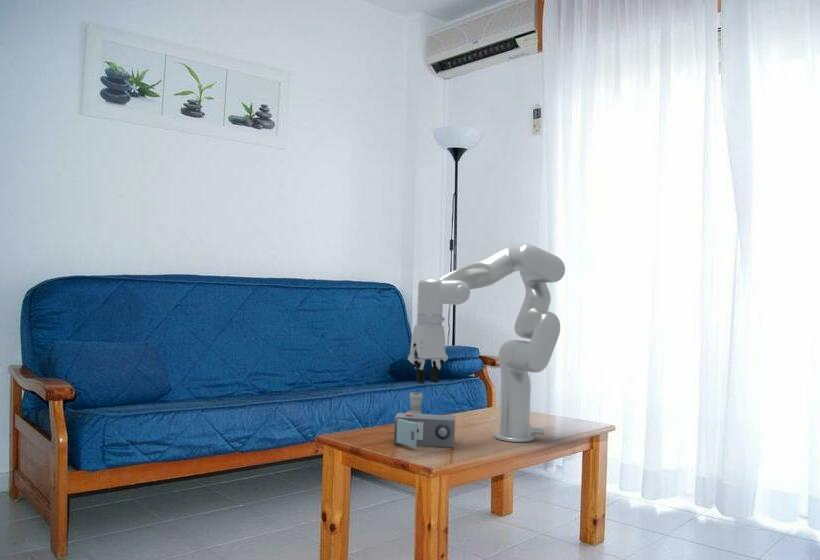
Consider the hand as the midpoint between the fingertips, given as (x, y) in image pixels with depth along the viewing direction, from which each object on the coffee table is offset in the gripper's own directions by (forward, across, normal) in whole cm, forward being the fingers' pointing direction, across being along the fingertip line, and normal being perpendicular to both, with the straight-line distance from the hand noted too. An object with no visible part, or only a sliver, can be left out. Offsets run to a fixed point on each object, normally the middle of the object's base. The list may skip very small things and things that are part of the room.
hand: (427, 382), depth 191 cm
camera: (+20, -15, -21) cm, 32 cm away
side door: (+18, +6, -2) cm, 19 cm away
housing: (+19, -4, -5) cm, 20 cm away
